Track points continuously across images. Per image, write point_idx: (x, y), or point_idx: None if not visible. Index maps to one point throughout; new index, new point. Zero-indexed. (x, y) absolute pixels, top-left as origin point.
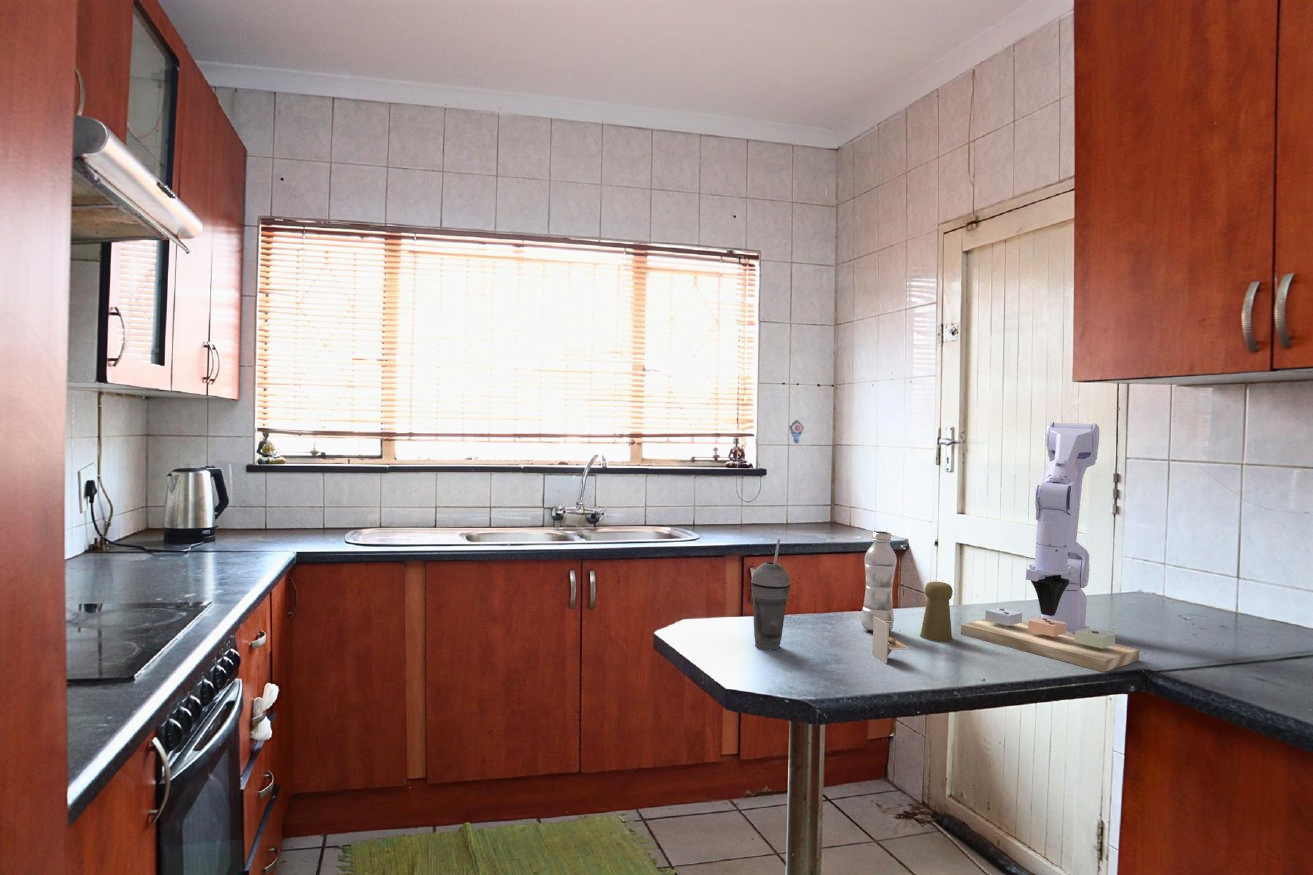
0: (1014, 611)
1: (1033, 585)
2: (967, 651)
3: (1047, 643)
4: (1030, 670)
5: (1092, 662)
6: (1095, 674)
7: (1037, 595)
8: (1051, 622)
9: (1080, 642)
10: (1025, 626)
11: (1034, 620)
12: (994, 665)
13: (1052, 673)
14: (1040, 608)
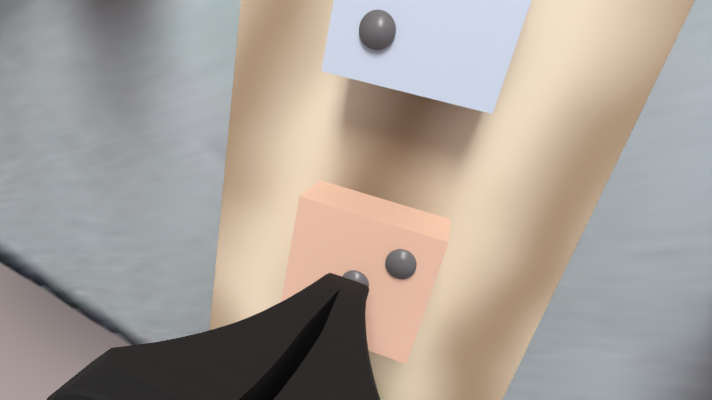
0: (501, 54)
1: (161, 342)
2: (64, 8)
3: (253, 265)
4: (67, 235)
5: None
6: None
7: (248, 317)
8: None
9: None
10: (525, 118)
11: (322, 223)
12: (17, 141)
13: (94, 285)
14: (311, 284)
